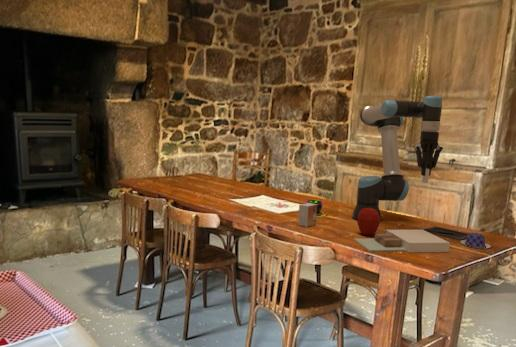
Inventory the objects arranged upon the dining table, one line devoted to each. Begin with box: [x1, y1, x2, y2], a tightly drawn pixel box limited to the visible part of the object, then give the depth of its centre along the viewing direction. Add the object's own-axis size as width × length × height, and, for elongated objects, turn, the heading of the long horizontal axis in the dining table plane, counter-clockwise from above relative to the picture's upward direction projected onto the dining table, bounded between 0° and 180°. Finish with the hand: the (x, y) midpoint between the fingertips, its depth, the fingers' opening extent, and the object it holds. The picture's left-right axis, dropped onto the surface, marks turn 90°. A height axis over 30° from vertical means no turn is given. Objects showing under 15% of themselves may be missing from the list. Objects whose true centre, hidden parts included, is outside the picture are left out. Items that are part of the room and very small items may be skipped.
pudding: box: [459, 232, 492, 249], centre depth 176 cm, size 12×12×5 cm
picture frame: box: [422, 225, 470, 241], centre depth 193 cm, size 13×2×18 cm
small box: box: [297, 203, 317, 228], centre depth 200 cm, size 8×6×10 cm
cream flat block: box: [385, 229, 451, 253], centre depth 173 cm, size 20×18×4 cm
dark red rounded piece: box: [357, 206, 381, 236], centre depth 186 cm, size 10×10×14 cm
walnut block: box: [374, 233, 401, 247], centre depth 171 cm, size 10×7×3 cm
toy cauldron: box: [304, 196, 325, 218], centre depth 223 cm, size 15×15×11 cm
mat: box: [353, 237, 407, 252], centre depth 170 cm, size 16×16×1 cm
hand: (425, 182), depth 183 cm, fingers closed
